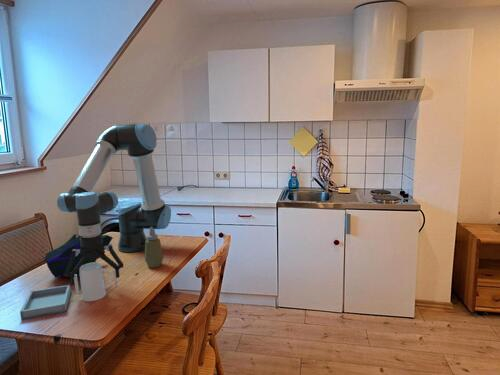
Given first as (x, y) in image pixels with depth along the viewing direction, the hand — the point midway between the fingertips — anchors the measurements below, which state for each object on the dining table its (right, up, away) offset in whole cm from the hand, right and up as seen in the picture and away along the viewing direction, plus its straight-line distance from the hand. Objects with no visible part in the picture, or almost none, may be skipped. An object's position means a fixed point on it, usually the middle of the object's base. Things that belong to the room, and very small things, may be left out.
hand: (97, 289), depth 141 cm
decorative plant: (-14, 0, +22) cm, 26 cm away
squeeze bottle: (+14, +3, +29) cm, 32 cm away
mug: (0, -3, +1) cm, 3 cm away
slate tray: (-16, -4, -5) cm, 17 cm away
